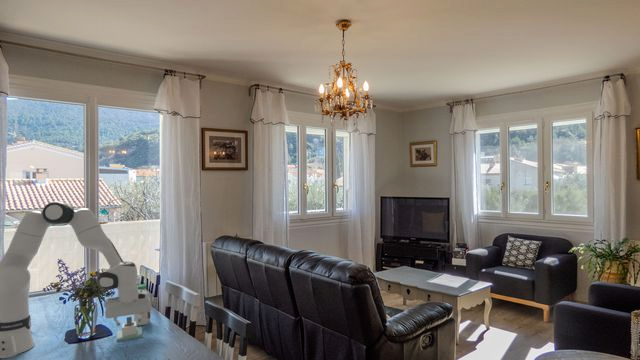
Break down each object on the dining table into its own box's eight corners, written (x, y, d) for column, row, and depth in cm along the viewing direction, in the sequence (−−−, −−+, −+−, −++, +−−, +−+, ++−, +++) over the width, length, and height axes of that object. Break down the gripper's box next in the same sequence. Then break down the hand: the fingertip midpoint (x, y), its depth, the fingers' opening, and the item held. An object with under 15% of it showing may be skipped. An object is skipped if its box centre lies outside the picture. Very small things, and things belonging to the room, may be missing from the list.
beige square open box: (122, 336, 190) (121, 327, 190) (122, 331, 195) (122, 323, 195) (136, 333, 192) (136, 325, 192) (136, 329, 198) (136, 321, 198)
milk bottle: (144, 326, 205) (143, 287, 204) (131, 325, 206) (129, 287, 206) (153, 320, 212) (152, 283, 212) (140, 320, 214) (139, 283, 213)
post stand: (116, 341, 187) (115, 323, 186) (117, 333, 197) (116, 315, 196) (142, 337, 191) (141, 319, 191) (141, 329, 201) (141, 311, 201)
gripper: (103, 300, 186) (104, 330, 187) (150, 294, 195) (151, 322, 195) (104, 297, 192) (105, 325, 192) (150, 290, 201) (151, 317, 201)
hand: (129, 323), depth 194 cm, fingers open, 8 cm apart
